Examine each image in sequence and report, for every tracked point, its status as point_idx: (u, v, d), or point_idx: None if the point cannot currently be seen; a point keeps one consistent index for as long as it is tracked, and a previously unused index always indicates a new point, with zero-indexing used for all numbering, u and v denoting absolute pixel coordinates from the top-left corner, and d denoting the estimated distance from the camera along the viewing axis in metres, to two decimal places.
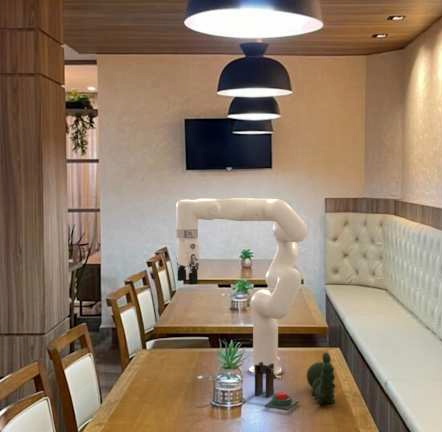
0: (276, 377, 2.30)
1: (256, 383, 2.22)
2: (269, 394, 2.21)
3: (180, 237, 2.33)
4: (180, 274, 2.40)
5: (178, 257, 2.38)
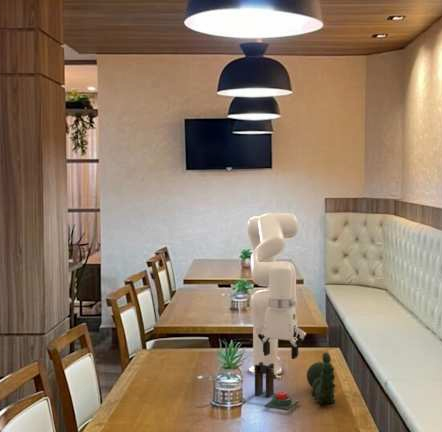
0: (276, 377, 2.30)
1: (256, 383, 2.22)
2: (269, 394, 2.21)
3: (281, 308, 2.09)
4: (266, 348, 2.15)
5: (268, 330, 2.13)
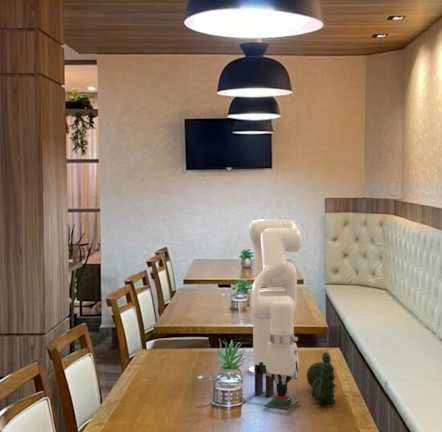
0: None
1: (256, 383, 2.22)
2: (269, 394, 2.21)
3: (282, 344, 2.09)
4: None
5: (270, 365, 2.13)
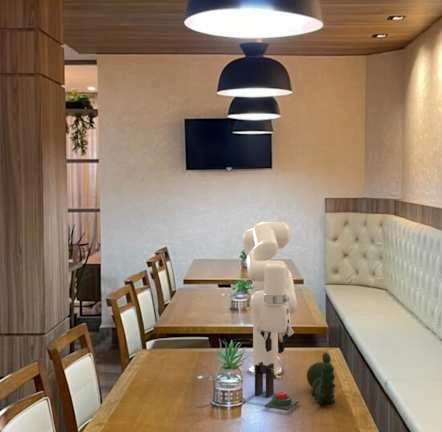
0: (276, 377, 2.30)
1: (256, 383, 2.22)
2: (269, 394, 2.21)
3: (275, 303, 2.26)
4: (268, 344, 2.31)
5: (264, 323, 2.29)
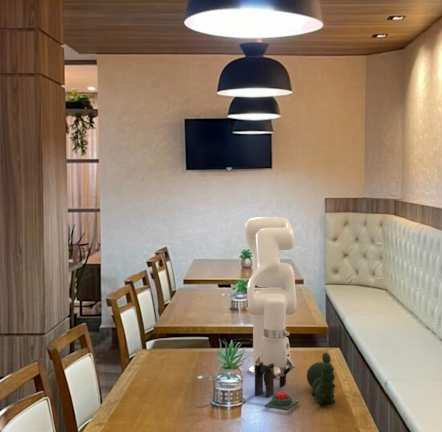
0: (276, 377, 2.30)
1: (256, 383, 2.22)
2: (269, 394, 2.21)
3: (275, 338, 2.27)
4: None
5: (264, 358, 2.30)
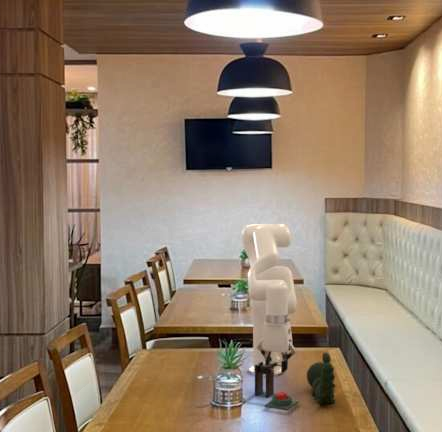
0: (278, 364, 2.31)
1: (256, 383, 2.22)
2: (269, 394, 2.21)
3: (277, 323, 2.28)
4: None
5: (265, 343, 2.31)
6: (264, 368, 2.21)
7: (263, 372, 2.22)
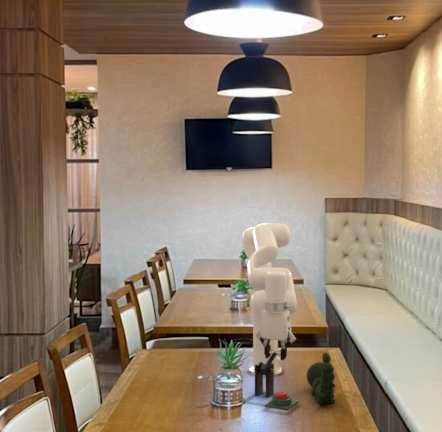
0: (277, 354, 2.30)
1: (256, 383, 2.22)
2: (269, 394, 2.21)
3: (276, 311, 2.27)
4: None
5: (264, 331, 2.30)
6: (264, 370, 2.21)
7: (263, 373, 2.22)
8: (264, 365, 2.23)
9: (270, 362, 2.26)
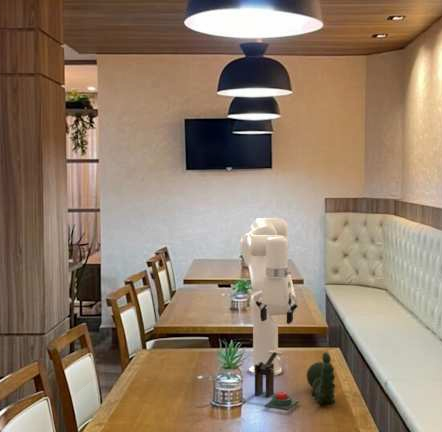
0: (277, 354, 2.30)
1: (256, 383, 2.22)
2: (269, 394, 2.21)
3: (277, 276, 2.27)
4: (264, 314, 2.33)
5: (265, 297, 2.30)
6: (264, 370, 2.21)
7: (263, 373, 2.22)
8: (264, 365, 2.23)
9: (270, 362, 2.26)
